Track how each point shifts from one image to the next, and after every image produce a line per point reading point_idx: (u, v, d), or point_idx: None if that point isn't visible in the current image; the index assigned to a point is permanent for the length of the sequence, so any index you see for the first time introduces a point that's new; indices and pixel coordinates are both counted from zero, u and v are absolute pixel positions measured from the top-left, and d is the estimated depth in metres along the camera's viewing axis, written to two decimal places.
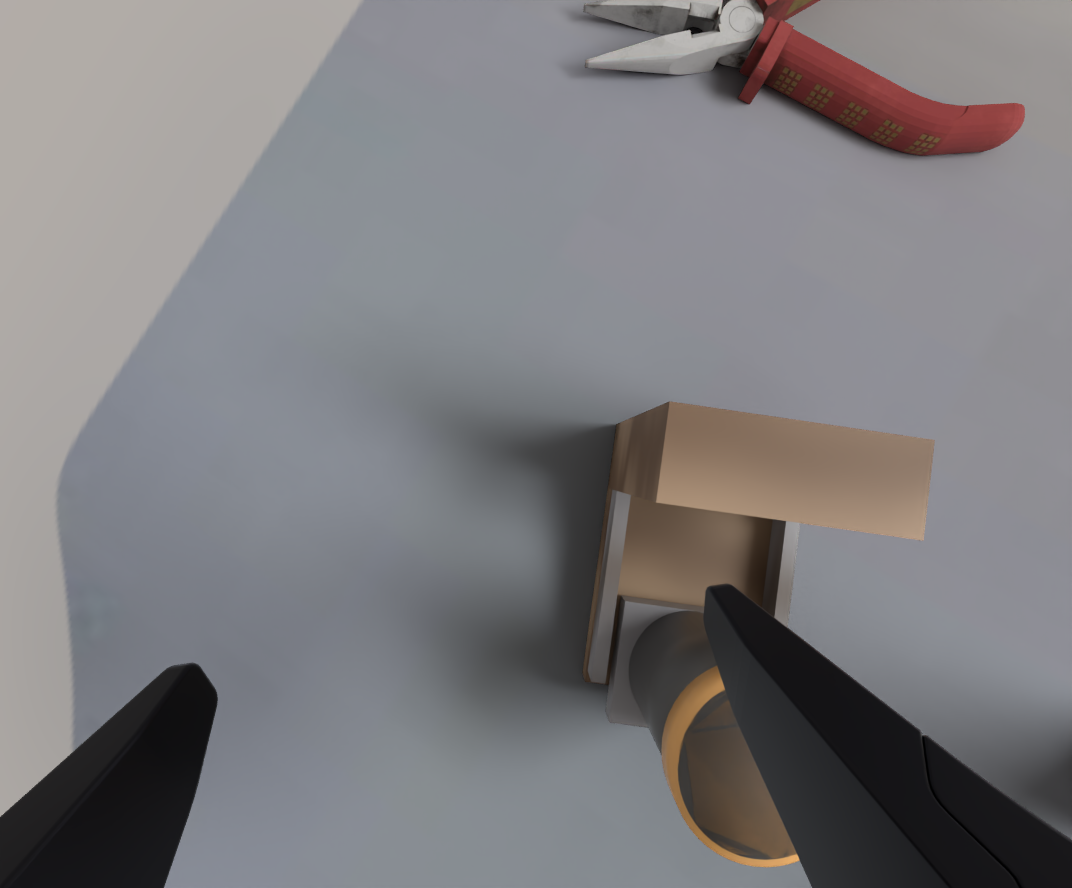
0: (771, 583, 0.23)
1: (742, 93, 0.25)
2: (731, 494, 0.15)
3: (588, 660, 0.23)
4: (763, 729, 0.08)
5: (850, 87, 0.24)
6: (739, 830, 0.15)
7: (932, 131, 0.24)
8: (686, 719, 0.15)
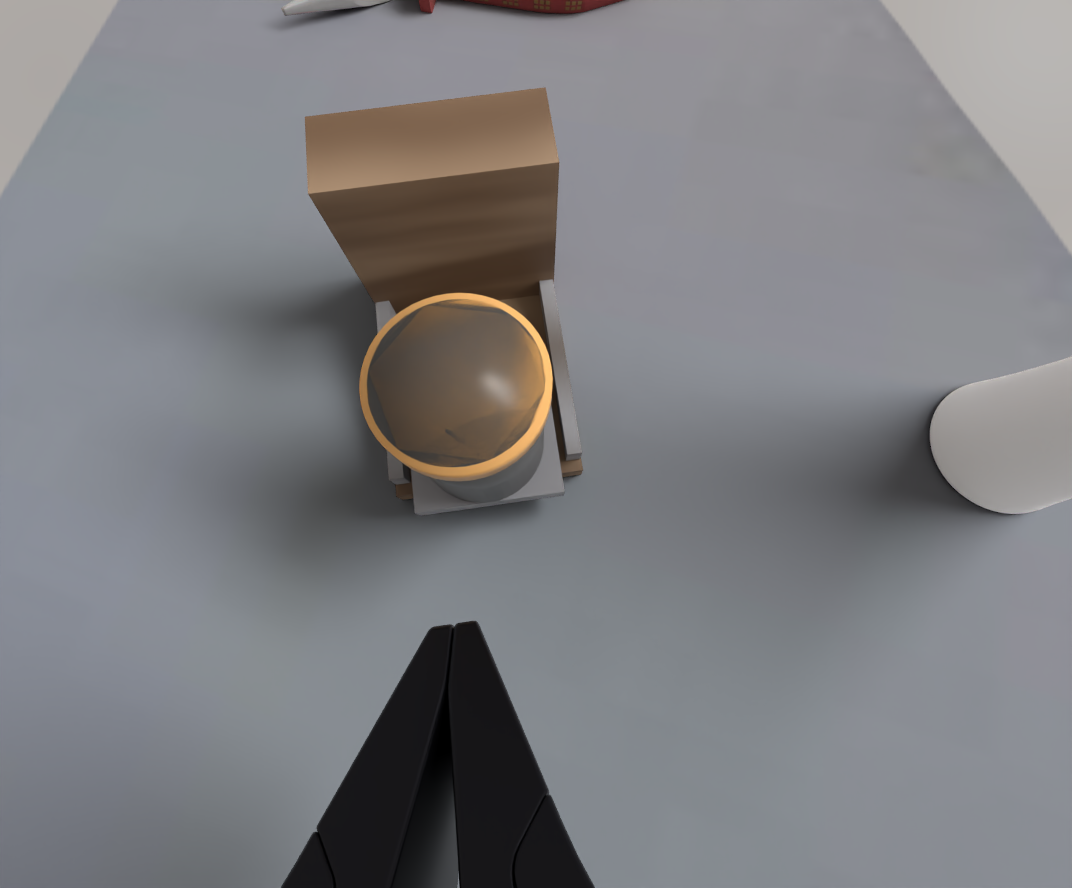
0: (549, 349, 0.23)
1: (420, 3, 0.30)
2: (375, 170, 0.17)
3: None
4: None
5: None
6: (443, 443, 0.14)
7: None
8: (369, 358, 0.15)
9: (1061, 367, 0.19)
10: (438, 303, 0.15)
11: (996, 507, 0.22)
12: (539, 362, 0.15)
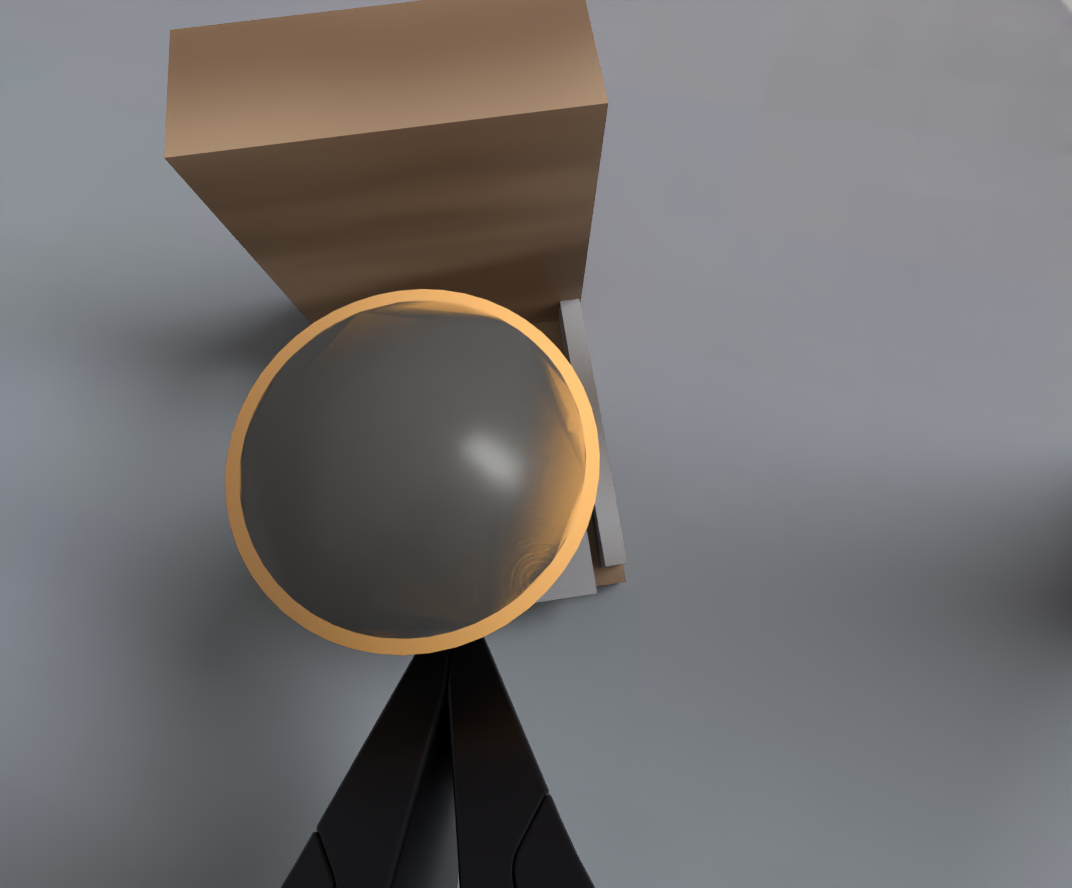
0: None
1: None
2: (286, 117, 0.10)
3: None
4: None
5: None
6: (385, 586, 0.07)
7: None
8: (249, 412, 0.08)
9: None
10: (383, 308, 0.08)
11: None
12: (574, 421, 0.08)
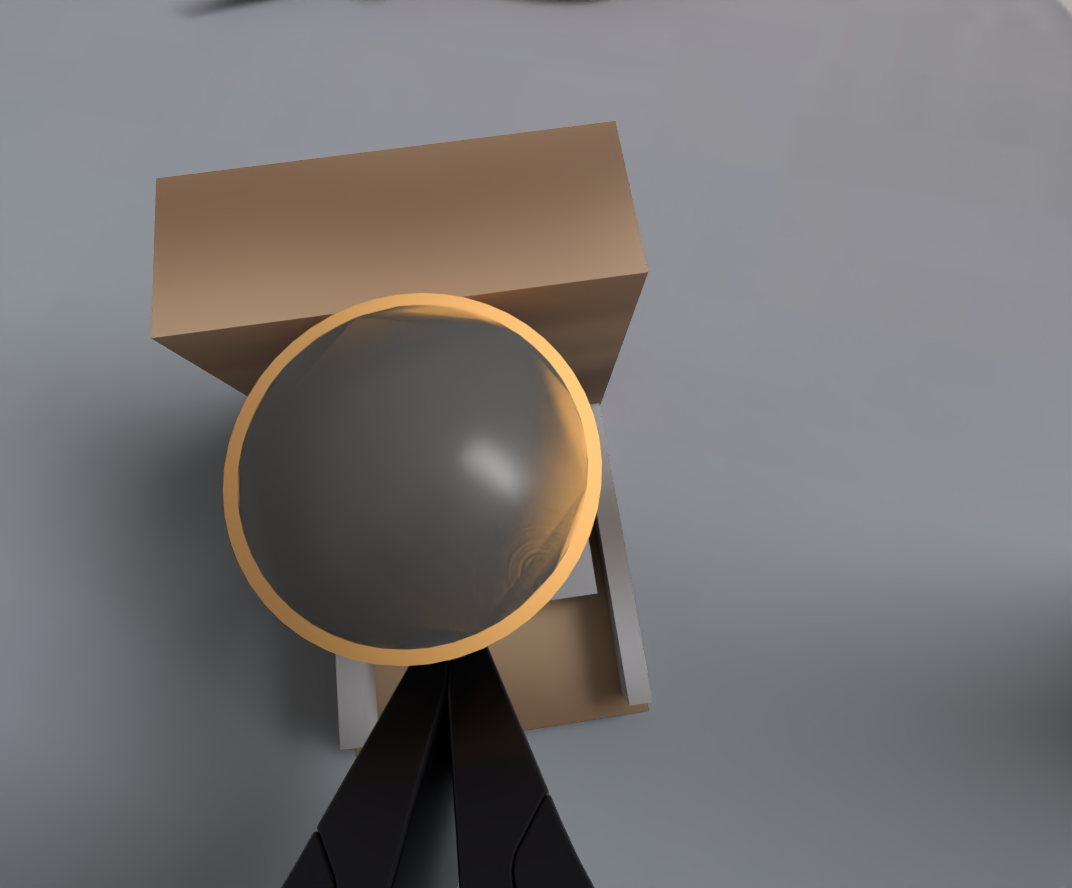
0: None
1: None
2: (287, 289, 0.09)
3: None
4: None
5: None
6: (385, 596, 0.07)
7: None
8: (247, 419, 0.08)
9: None
10: (382, 313, 0.08)
11: None
12: (576, 429, 0.08)
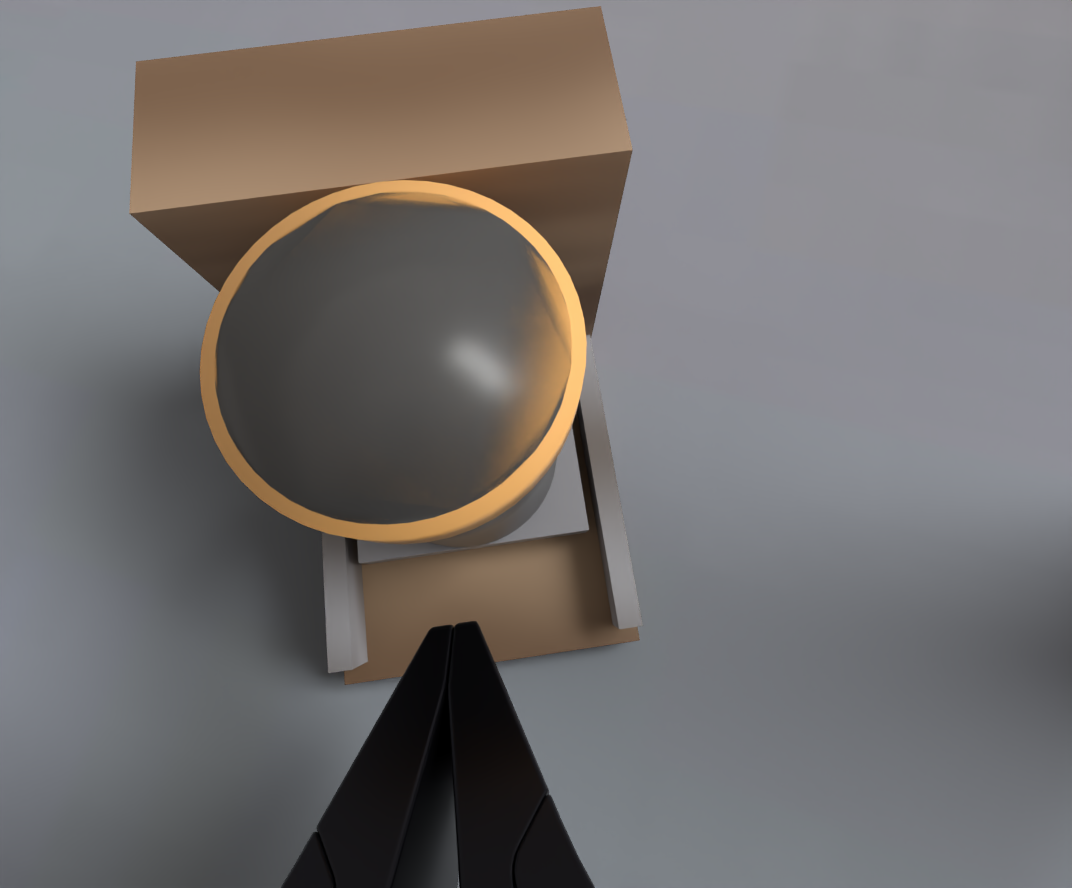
0: (584, 444, 0.15)
1: None
2: (267, 166, 0.08)
3: None
4: None
5: None
6: (365, 473, 0.07)
7: None
8: (225, 303, 0.08)
9: None
10: (363, 199, 0.08)
11: None
12: (561, 310, 0.07)
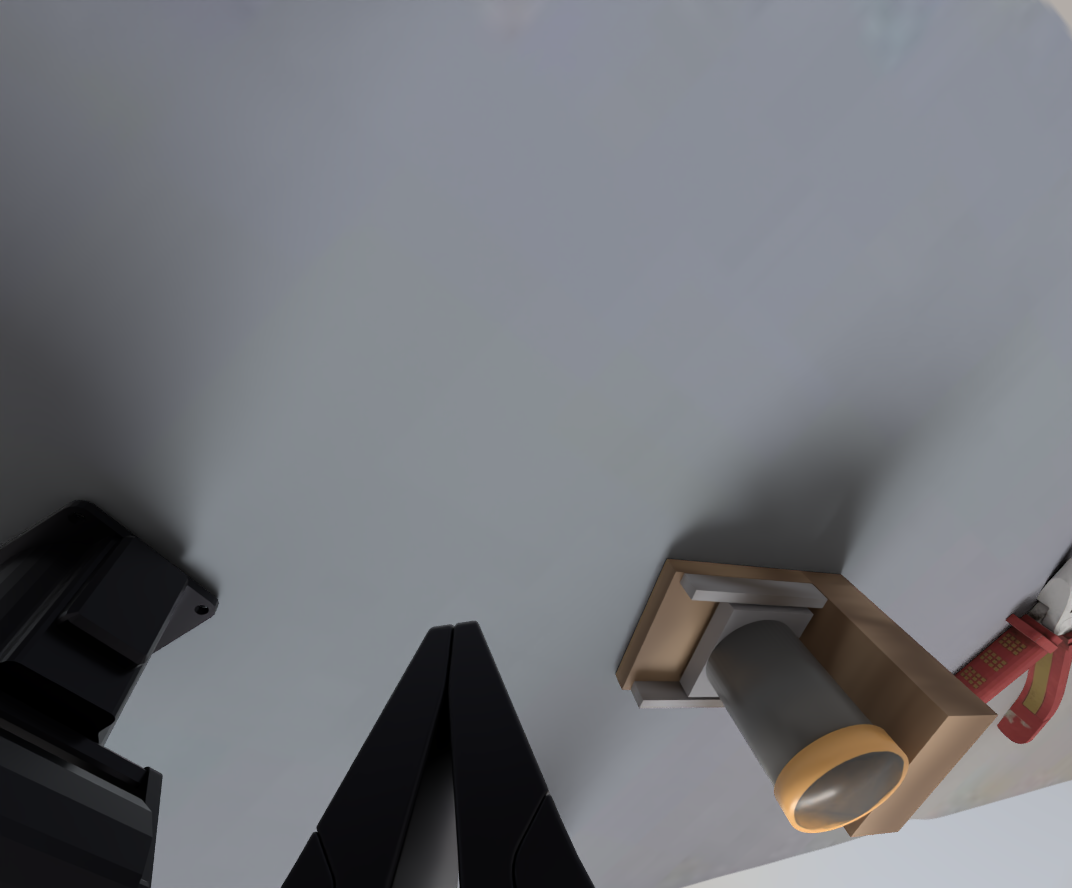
0: None
1: (1018, 618, 0.35)
2: (928, 751, 0.22)
3: (692, 573, 0.26)
4: None
5: (997, 681, 0.36)
6: (821, 786, 0.21)
7: None
8: None
9: None
10: (895, 784, 0.22)
11: None
12: (824, 827, 0.22)
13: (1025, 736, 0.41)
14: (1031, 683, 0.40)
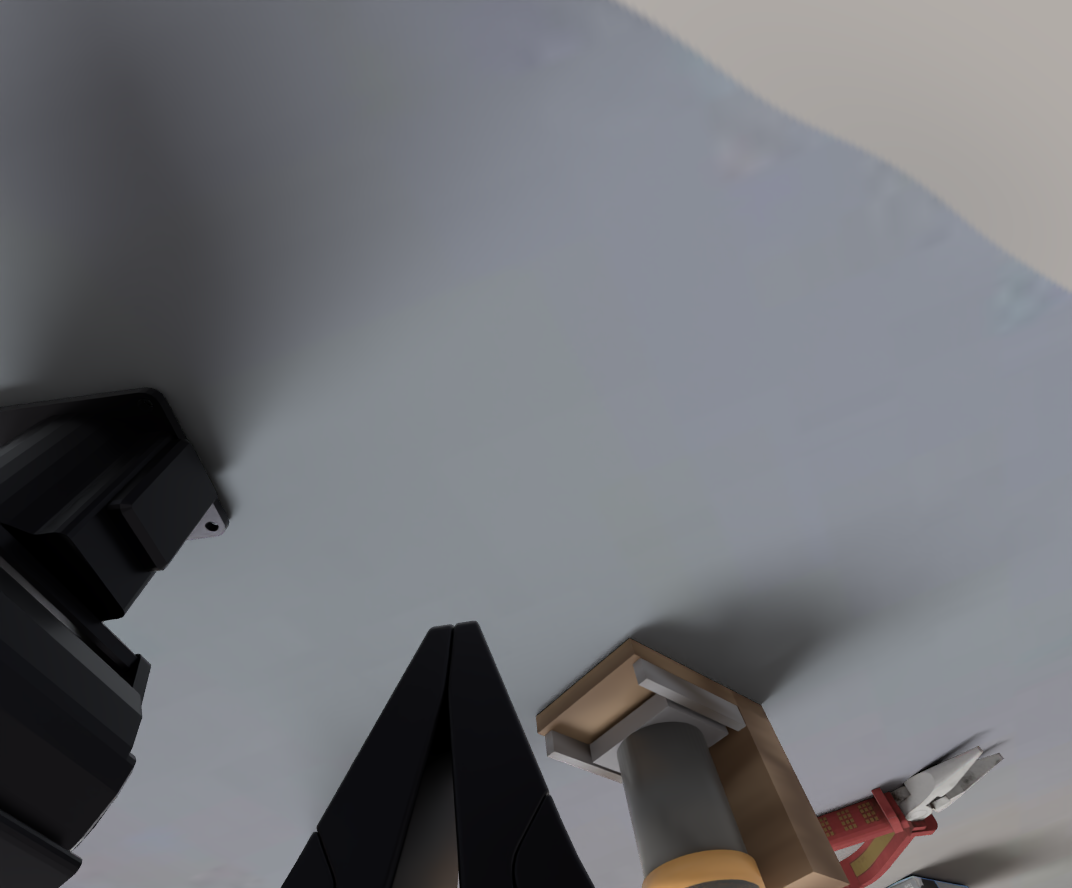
0: None
1: (882, 793, 0.39)
2: None
3: (646, 660, 0.28)
4: None
5: (843, 839, 0.39)
6: None
7: None
8: None
9: None
10: None
11: None
12: None
13: None
14: (865, 849, 0.44)
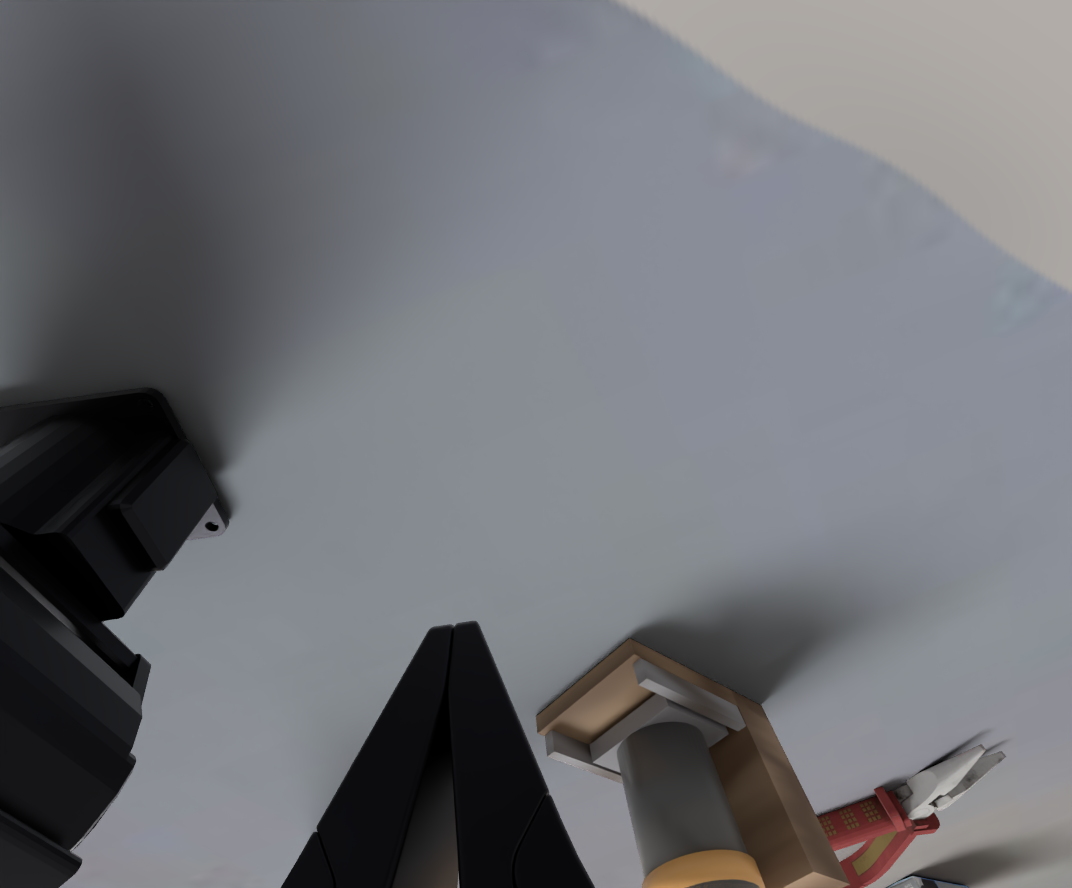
0: None
1: (884, 792, 0.39)
2: None
3: (646, 660, 0.28)
4: None
5: (845, 838, 0.39)
6: None
7: None
8: None
9: None
10: None
11: None
12: None
13: None
14: (867, 848, 0.44)
